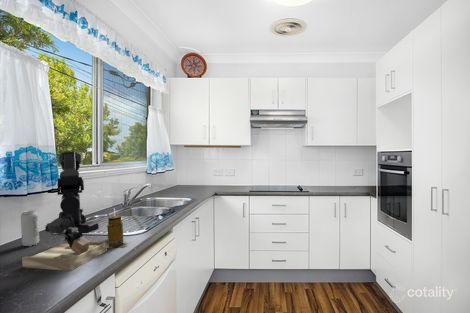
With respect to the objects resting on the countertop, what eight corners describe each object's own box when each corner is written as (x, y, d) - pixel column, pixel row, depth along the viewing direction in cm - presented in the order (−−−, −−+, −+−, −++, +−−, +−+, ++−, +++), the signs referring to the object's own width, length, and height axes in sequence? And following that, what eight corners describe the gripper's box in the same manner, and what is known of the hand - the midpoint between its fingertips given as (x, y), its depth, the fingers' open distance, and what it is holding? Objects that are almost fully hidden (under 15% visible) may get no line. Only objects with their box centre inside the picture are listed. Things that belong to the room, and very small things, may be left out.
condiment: (110, 242, 118) (109, 215, 117) (130, 241, 119) (129, 214, 118) (104, 248, 110) (103, 219, 110) (125, 247, 111) (124, 218, 111)
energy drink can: (26, 243, 120) (24, 210, 120) (41, 241, 122) (40, 208, 122) (19, 247, 115) (17, 213, 114) (35, 246, 116) (33, 211, 116)
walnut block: (79, 245, 102) (82, 236, 102) (87, 250, 102) (91, 241, 101) (70, 249, 98) (74, 240, 98) (79, 254, 98) (82, 245, 97)
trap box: (65, 248, 112) (64, 240, 112) (106, 250, 108) (106, 242, 108) (22, 267, 94) (22, 257, 94) (70, 270, 90) (69, 260, 90)
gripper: (30, 212, 94) (32, 256, 94) (75, 213, 90) (77, 259, 90) (57, 205, 105) (59, 245, 105) (98, 206, 101) (100, 247, 101)
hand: (73, 249), depth 100 cm, fingers closed
